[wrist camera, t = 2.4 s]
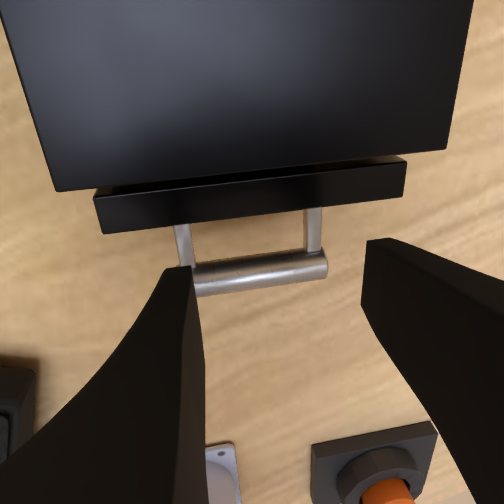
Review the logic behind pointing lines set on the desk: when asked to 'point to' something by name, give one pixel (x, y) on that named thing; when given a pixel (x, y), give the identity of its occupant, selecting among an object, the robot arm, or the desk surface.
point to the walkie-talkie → (16, 408)
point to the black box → (232, 83)
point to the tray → (250, 214)
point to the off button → (387, 493)
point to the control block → (371, 463)
